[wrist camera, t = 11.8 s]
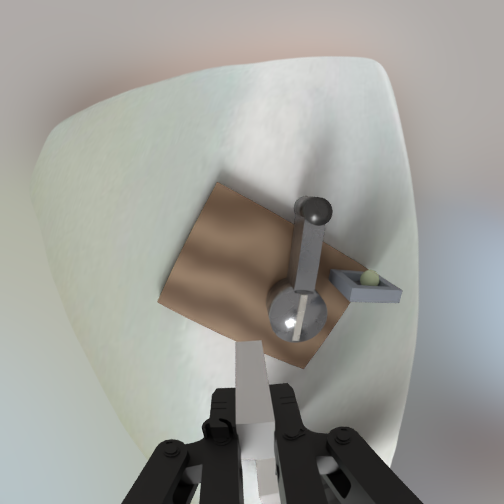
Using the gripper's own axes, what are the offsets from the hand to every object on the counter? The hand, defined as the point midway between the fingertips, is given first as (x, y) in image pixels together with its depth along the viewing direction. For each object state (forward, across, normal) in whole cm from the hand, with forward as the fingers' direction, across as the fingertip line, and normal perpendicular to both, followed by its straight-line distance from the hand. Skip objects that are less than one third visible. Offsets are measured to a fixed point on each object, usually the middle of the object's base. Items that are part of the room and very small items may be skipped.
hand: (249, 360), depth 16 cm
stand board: (+22, +3, -3) cm, 23 cm away
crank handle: (+21, +7, 0) cm, 22 cm away
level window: (+21, +15, -2) cm, 26 cm away
